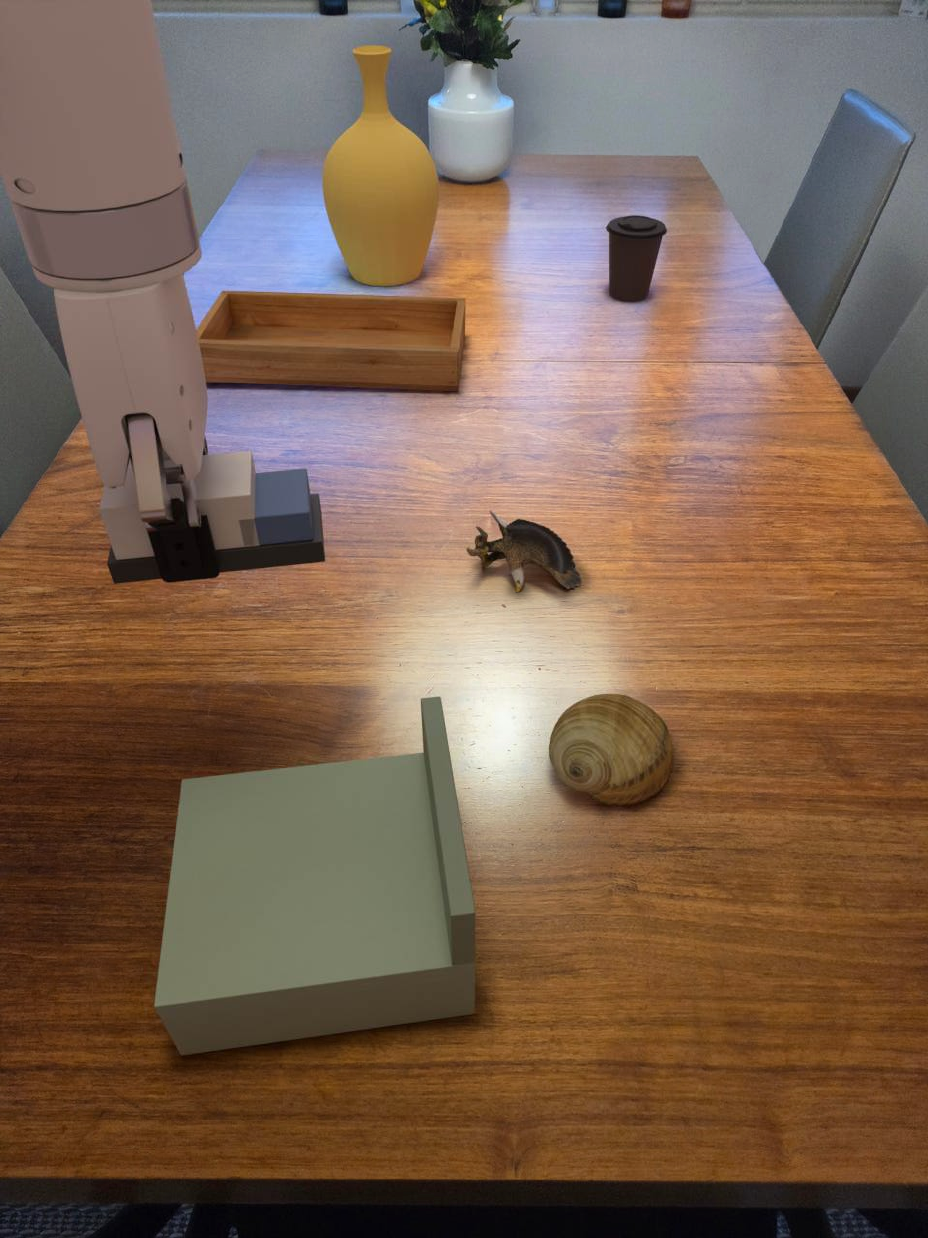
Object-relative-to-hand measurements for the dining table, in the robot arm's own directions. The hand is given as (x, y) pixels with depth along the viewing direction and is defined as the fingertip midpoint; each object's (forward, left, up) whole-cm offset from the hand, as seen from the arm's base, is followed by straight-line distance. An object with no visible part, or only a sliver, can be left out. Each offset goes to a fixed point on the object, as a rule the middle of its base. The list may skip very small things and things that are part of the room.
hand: (194, 544), depth 52 cm
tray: (+9, +59, -18) cm, 62 cm away
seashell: (+26, -6, -18) cm, 32 cm away
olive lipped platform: (+6, -15, -17) cm, 24 cm away
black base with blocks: (+2, 0, 0) cm, 2 cm away
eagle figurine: (+24, +15, -18) cm, 33 cm away
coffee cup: (+50, +74, -18) cm, 91 cm away
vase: (+17, +87, -18) cm, 90 cm away
